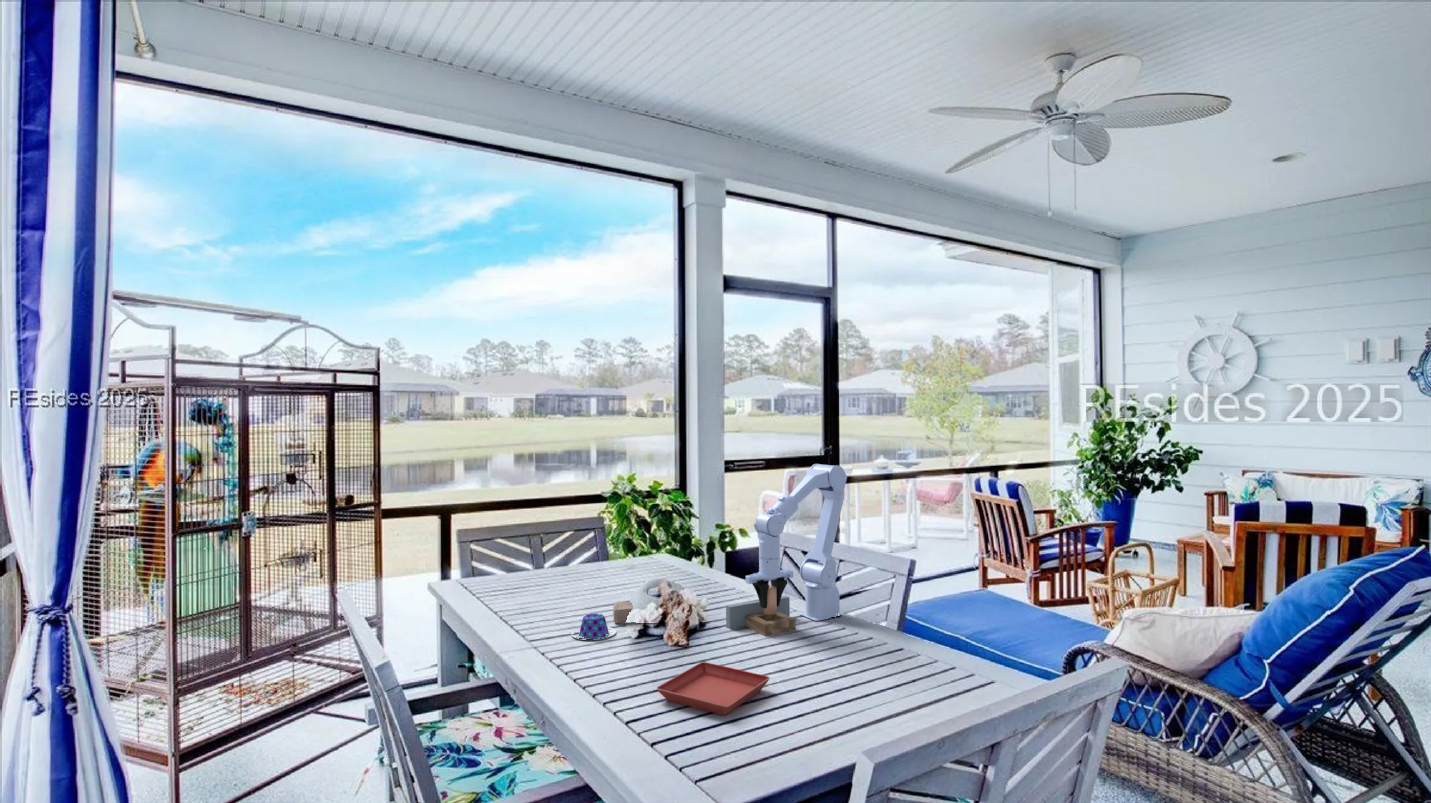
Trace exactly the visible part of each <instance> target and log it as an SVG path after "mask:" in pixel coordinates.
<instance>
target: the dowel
mask: <svg viewBox="0 0 1431 803" xmlns="http://www.w3.org/2000/svg"><path fill="white" fill-rule="evenodd" d="M776 613H777V587H775V586H772V585H769V588H768V593H767V608H764V614H767V615H774V614H776Z"/></svg>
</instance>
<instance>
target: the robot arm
mask: <svg viewBox="0 0 1431 803" xmlns="http://www.w3.org/2000/svg"><path fill="white" fill-rule="evenodd" d="M847 480H848V475H847V473H846V471H845V470H844V468H843V467H842V466H840V465H838V464H837V465H831V464H830V465H829V464H820V463H814V464H812V466H811V467H810V468H809V469H807V470H806V475H805V476H804V477H803V479H802V480H801V481H800V482H799V483H798V484H797V486H796V487H795V488H794V489H793V490H792V491H791V493H789V495H786V494H785V495H782V496H781V495H780V496H779V497H778V498H777V501H776V502H775V503H774V504H773V505H772V506H771V507H770V508H768V509H767V511H766V512H763V513H761V514H759V515H758V516H757V518H756V519H755V523H753V526H754V530H755V531H756V533H757V539H758V549H759V550H758V562H759V564H758V567H759V568H758V572H756V573H755V572H754V573H752V574H748V575H745V583H746V584H748V585H751V584H752V586H753V589H754V590H755V592H756V595H757V597H758V600H759V601H760V606H761V607H762V608H767V593H768V588H769V586H775V587H777V606H779V604H780V600H781V596H783V594H784V593H783V592H784V590H785V589H786V586H787V585H788V579H787V578H789V579H791V578H792V579H793V578H794V570H791V569H781V556H780V555H781V554H780V552H781V551H780V550H781V548H780V545H781V543H780V541H781V540H780V539H781V538H780V537H781V534H782V533H783V532H784V530H785V526H786V524H787V522H788V521H789V520H790V519H791V517H792V516H794V515H795V513H797V511H798V510H799V503H801V502H802V501H803V500H804V499H806V498H807V497H808V496H809V495H810V494H812V492H814V490H816V489H817V490H818V491H819V492H820V493H821V495H822V496H823V497H824V499H823V500H824V501H823V504H822V508H821V514H820V516H819V522H818V526H817V530H816V534H815V539H814V543H813V548H812V550H810V551H809V552H808V553H807V554H805V556H804V560H803V562H802V564H801V565H800V567H799V576H800V578H801V580H802V581H803V584H804V585H805V611H803V612H799V615H800V616H802V617H803V618H807V619H809V620H811V621H814V622H818V621H824V620H828V619H829V618H830V619H832V618H831V617H835V616H838V613H840V614H841V612H840V591H839V589H838V586H836V584H834V583H835V581H836V580H837V569H836V568H837V563H838V562H837V561H836V560H835V558H834V557H833V555H832V554H833V553H832V552H833V548H834V544H835V539H836V535H837V530H838V526H839V522H840V517H841V512H842V508H843V504H844V499H845V488H846V483H847ZM767 581H770V585H769V584H767V583H766V582H767ZM836 614H837V615H836ZM835 618H836V617H835Z"/></svg>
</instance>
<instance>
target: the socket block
mask: <svg viewBox="0 0 1431 803" xmlns="http://www.w3.org/2000/svg"><path fill="white" fill-rule="evenodd" d="M796 622H797V621H796V618H794V617H792V616H787V615H785V614H783V613H780V612H778V611H777V613H776V614H774V615H767V614H764V612H762V613H757V614H751V615H745V626H744V627H747V629H750V630H751V631H754V632H756V633H758V634H760V635H762V636H764V637H767V636H773V635H777V634H781V633H787V632H793V631H796V628H797V624H796Z"/></svg>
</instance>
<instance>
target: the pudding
mask: <svg viewBox="0 0 1431 803" xmlns="http://www.w3.org/2000/svg"><path fill="white" fill-rule="evenodd" d="M579 629H580V632H579V634H578V636H582V637H584V638H591V639H593V640H592V641H596V640H599V638H598V637H603V638H602V639H601V640H603V639H607V638H609V637H612V636H614V635H615V634H616V633H617V630H616V629H615V628H614V627H611V626H608V625H607V621H606V617H605V615H603V614H602V613H589V614H586V615H584V616H583V618H582V620H581V624H580V627H579V628H577V629H575V630H573V631H572V632H571V636H572V637H573V638H575V639H578V640H580V639H579V638H576V637H575V636H573V635H572V634H574V632H578V630H579ZM608 629H610V631H608ZM611 629H612V630H611ZM609 632H613V633H611V634H612V635H610V636H608V635H606V634H610V633H609ZM605 636H606V638H604V637H605ZM607 636H608V637H607ZM582 637H581V638H582ZM584 638H583V639H581V640H583V641H587V640H586V639H584ZM596 638H598V639H596Z"/></svg>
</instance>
